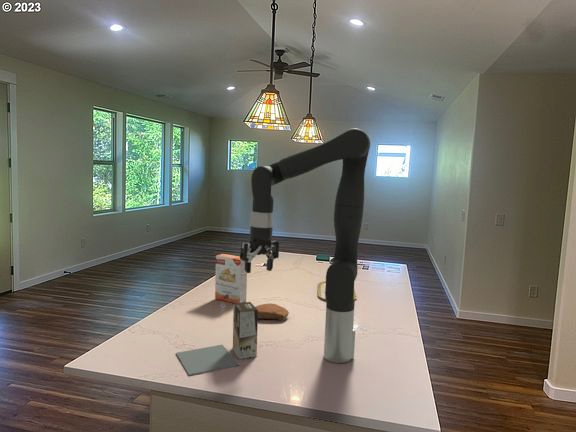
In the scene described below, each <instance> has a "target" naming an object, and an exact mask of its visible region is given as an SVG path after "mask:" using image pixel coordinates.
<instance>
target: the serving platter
mask: <svg viewBox="0 0 576 432" xmlns="http://www.w3.org/2000/svg"><path fill="white" fill-rule="evenodd" d="M324 285H326V280H324V281H320V282H319V283H317V295H318V297H319V298H320V299H321V300H323V301H325V302H326V298H324V297H322V286H324ZM356 299H357V294H356V290H355V289H354V301H355V300H356Z"/></svg>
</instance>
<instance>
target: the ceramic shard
mask: <svg viewBox="0 0 576 432" xmlns="http://www.w3.org/2000/svg"><path fill="white" fill-rule="evenodd" d="M255 307H256V309H257V310H258V319H271V320H273V319H276V320H279V321H285V320H286V319H287V317H288V315H290V314H289V313H290V312H289V310H288V309H287V308H285V307H283V306H281V305H278V304H276V303H262V304H259V305H256V306H255Z"/></svg>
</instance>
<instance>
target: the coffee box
mask: <svg viewBox="0 0 576 432" xmlns="http://www.w3.org/2000/svg"><path fill="white" fill-rule="evenodd" d="M232 313H233V315H232V327H233V328H232V330H233V331H232V350H233V351H234V354H235V355H236V356H237V358H238V359H239V360H242V359H243V358H244V359H250V358H249V357H251V358H256V357H257V355H258V328H259V327H258V321H259V318H258V310H257V309H256V306H255V305H254V304H253V303H252V302H251V301H245V302H243V303H233V312H232ZM244 359H243V360H244Z"/></svg>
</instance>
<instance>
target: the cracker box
mask: <svg viewBox="0 0 576 432" xmlns="http://www.w3.org/2000/svg"><path fill="white" fill-rule="evenodd" d="M244 268H245V261H243V260H241V259H240V255H238V256H237V255H233V254H225V253H221V254H216V255H215V277H214V278H215V279H214V281H215V283H214V284H215V285H214V287H215V288H214V289H215V290H214V292H215V293H214V299H216V300H219V301H223V302H228V303H232V304H235V303H243V302H247V287H248V284H247V283H248V273H246V271H245V269H244Z"/></svg>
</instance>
